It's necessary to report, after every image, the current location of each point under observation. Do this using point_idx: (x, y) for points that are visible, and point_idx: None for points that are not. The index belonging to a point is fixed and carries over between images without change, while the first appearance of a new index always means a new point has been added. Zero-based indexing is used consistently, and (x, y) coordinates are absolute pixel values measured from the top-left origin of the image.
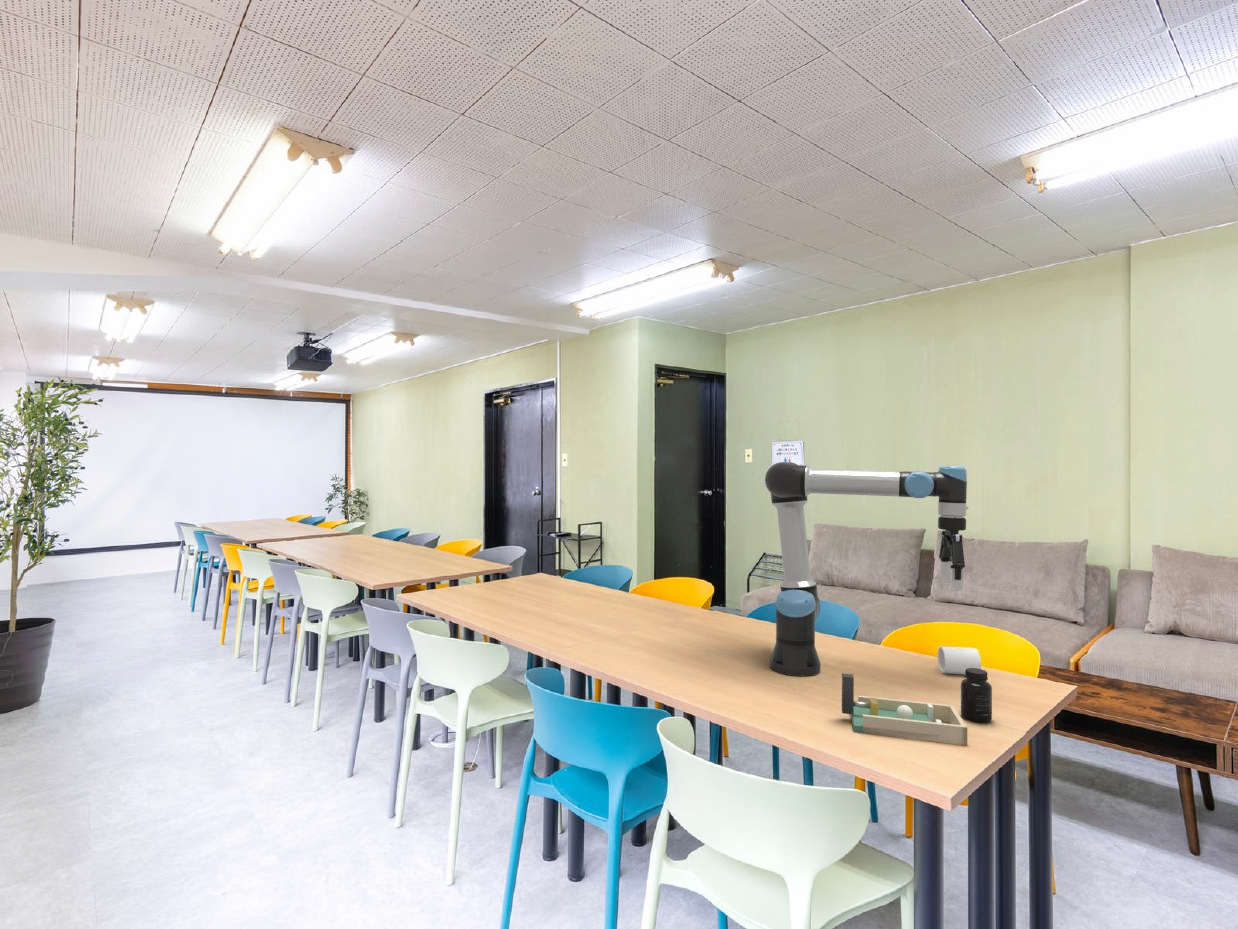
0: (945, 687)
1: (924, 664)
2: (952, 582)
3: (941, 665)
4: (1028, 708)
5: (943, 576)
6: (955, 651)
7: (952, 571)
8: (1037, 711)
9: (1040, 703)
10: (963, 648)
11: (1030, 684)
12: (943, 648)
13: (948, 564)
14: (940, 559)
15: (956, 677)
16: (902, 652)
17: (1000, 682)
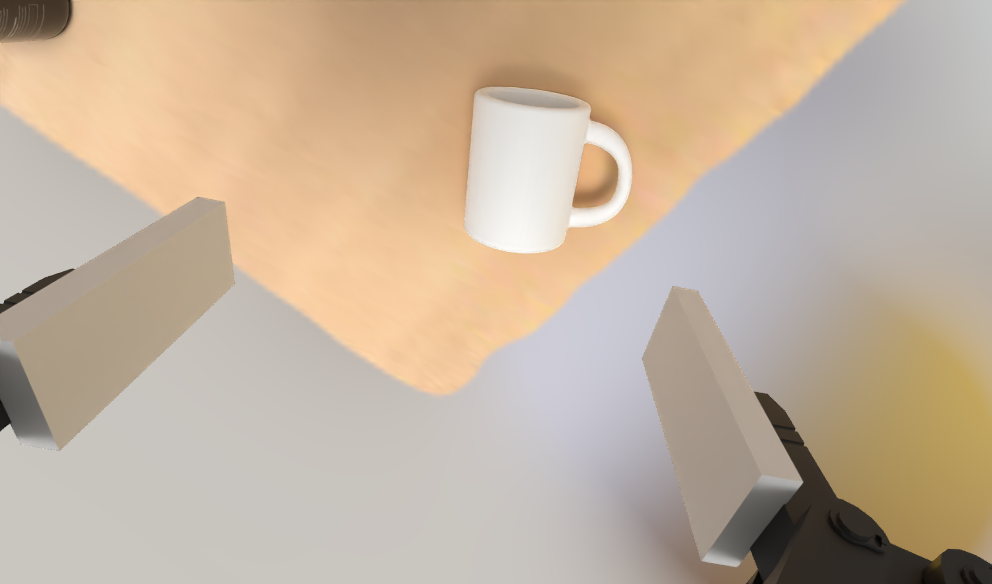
0: (341, 20)
1: (642, 60)
2: (140, 235)
3: (560, 105)
4: None
5: (682, 345)
6: (492, 155)
7: (15, 306)
8: None
9: (270, 266)
10: (511, 201)
11: (439, 323)
12: (513, 109)
13: (703, 509)
14: (851, 517)
15: None
16: (842, 24)
17: (443, 251)
